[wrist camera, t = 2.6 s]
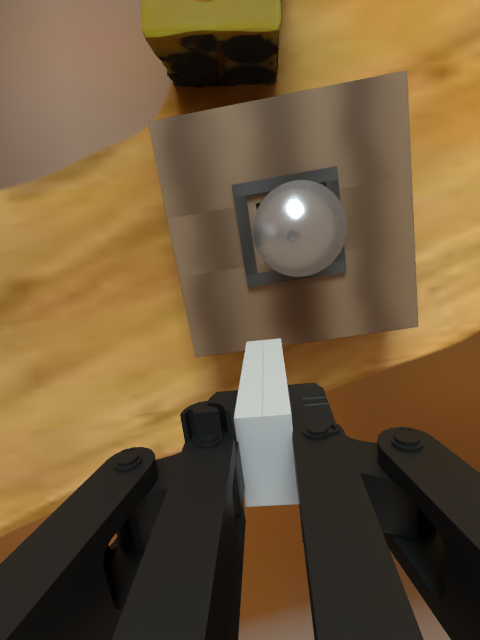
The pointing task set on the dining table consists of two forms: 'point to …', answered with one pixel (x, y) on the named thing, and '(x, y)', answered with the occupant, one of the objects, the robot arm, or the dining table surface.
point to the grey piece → (299, 228)
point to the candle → (214, 40)
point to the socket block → (267, 174)
